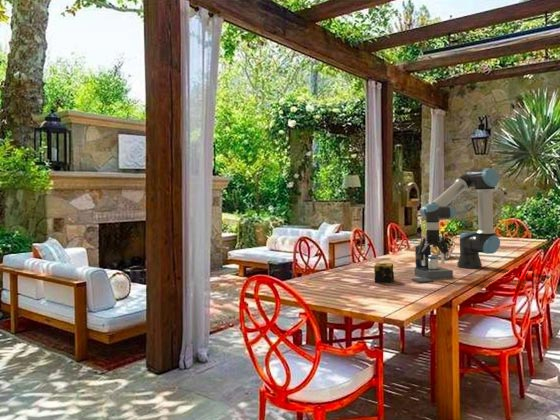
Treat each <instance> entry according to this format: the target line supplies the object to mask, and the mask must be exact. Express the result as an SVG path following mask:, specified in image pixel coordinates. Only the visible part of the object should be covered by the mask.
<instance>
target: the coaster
mask: <svg viewBox="0 0 560 420" xmlns="http://www.w3.org/2000/svg"><path fill="white" fill-rule="evenodd" d="M434 280H435V279H433V280H432V279H428V278H421V277H415V278H413V277H412V278H411V281H412V282H415V283H418V284H427V283H434V282H435V281H434Z"/></svg>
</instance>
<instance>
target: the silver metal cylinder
mask: <svg viewBox="0 0 560 420" xmlns="http://www.w3.org/2000/svg"><path fill="white" fill-rule="evenodd" d="M438 267H439V255H438V254H431V255H428V270H438Z"/></svg>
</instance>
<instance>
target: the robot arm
mask: <svg viewBox="0 0 560 420" xmlns="http://www.w3.org/2000/svg"><path fill="white" fill-rule="evenodd" d="M499 183H500V176H499V173H498V171H496V170H495V169H494V168H491V167H490V168H487V167H486V168H472V169H469V170H467V171H466V172H465V171H464V173H462V174H461V175H459V176H458V177H457V178H456V179H455V181H454V183H453V184H452V185H450V186H449V187H448V188H447V189H445V191H443V193H441V194H440V195H439V196H438V197H437V198H436V199H434V200H433V201H432V202H431V203H427V204H426V205H423V206H422V207H421V208H420V214H421V216H422V218H425V230H426V231H425V233H426V234H425V236H426V238H425V237H421V238H420V239H421V241H420V244H419V245H420V246H419V245H418V246H419V249H418V252H417V253H418V254H420V259H421V260H422V266H425V255H424V253H425V252H426V250H427V249H428V247H429V246H430V247H431V246H434V245H435V246H436V247H437V248H438V249H439V250H440V252H441V253H440V265H444V266H445V265H446V262H445V260H446V255H447V254H448V253H449V249H448V246H447V244H446V241H445V237H443V236H440V220H443V219H446V220H447V219H448V220H449V219H453V218H454V217H455V216H456V209H455V208H454V207H453V206H452V205H449V204H450V203H452V202H453V200H455V199H456V198H457V197H458V196H459V195H460V194H461V193H463V192H466V191H467V190H468V189H470V188H474V190H475V191H476V192H477V215H478V216H477V217H478V229H477V230H476V231H473V232H462V233H460V235H459V257H458V260H457V265H456V266H457V267H458V268H463V269H480V268H483V266H482V261H481V258H480V255H479V254H480V253H481V254H485V255H487V254H488V255H489V254H491V255H493V254H495V253H496V252H497V251H498V250H499V248H500V247H501V240H500V238H499V236H498V235H497V232H496V231H495V230H494V210H493V207H494V206H493V203H494V202H493V192H494V191H495V190H496V187H497V186H498V185H499ZM424 244H425V246H424ZM423 247H424V248H423Z"/></svg>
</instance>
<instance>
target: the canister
mask: <svg viewBox="0 0 560 420" xmlns="http://www.w3.org/2000/svg"><path fill="white" fill-rule="evenodd" d="M425 245H426V243H425V244H424V246H425ZM419 246H420V244H419V245H415V247H414V248H415V249H414V250H415V251H414V254H415V268H422V267H428V255H432V248H431V245H430V246H429V247H428V249H427V250H426V252H425V253H424V255H425V266H422V260H421V259H420V254H418V253H417V252H418V249H419ZM423 248H424V247H423Z"/></svg>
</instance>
